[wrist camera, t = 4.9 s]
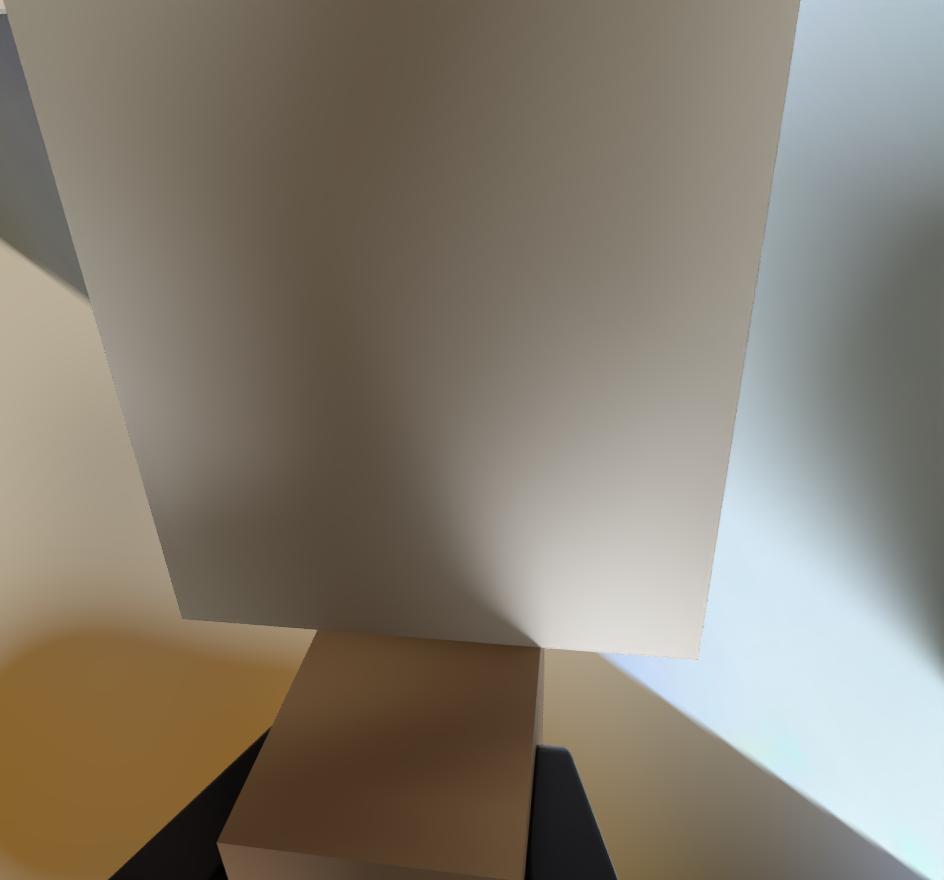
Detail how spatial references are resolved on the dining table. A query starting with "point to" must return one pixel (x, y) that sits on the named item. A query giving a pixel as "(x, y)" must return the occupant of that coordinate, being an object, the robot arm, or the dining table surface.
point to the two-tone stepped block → (419, 361)
